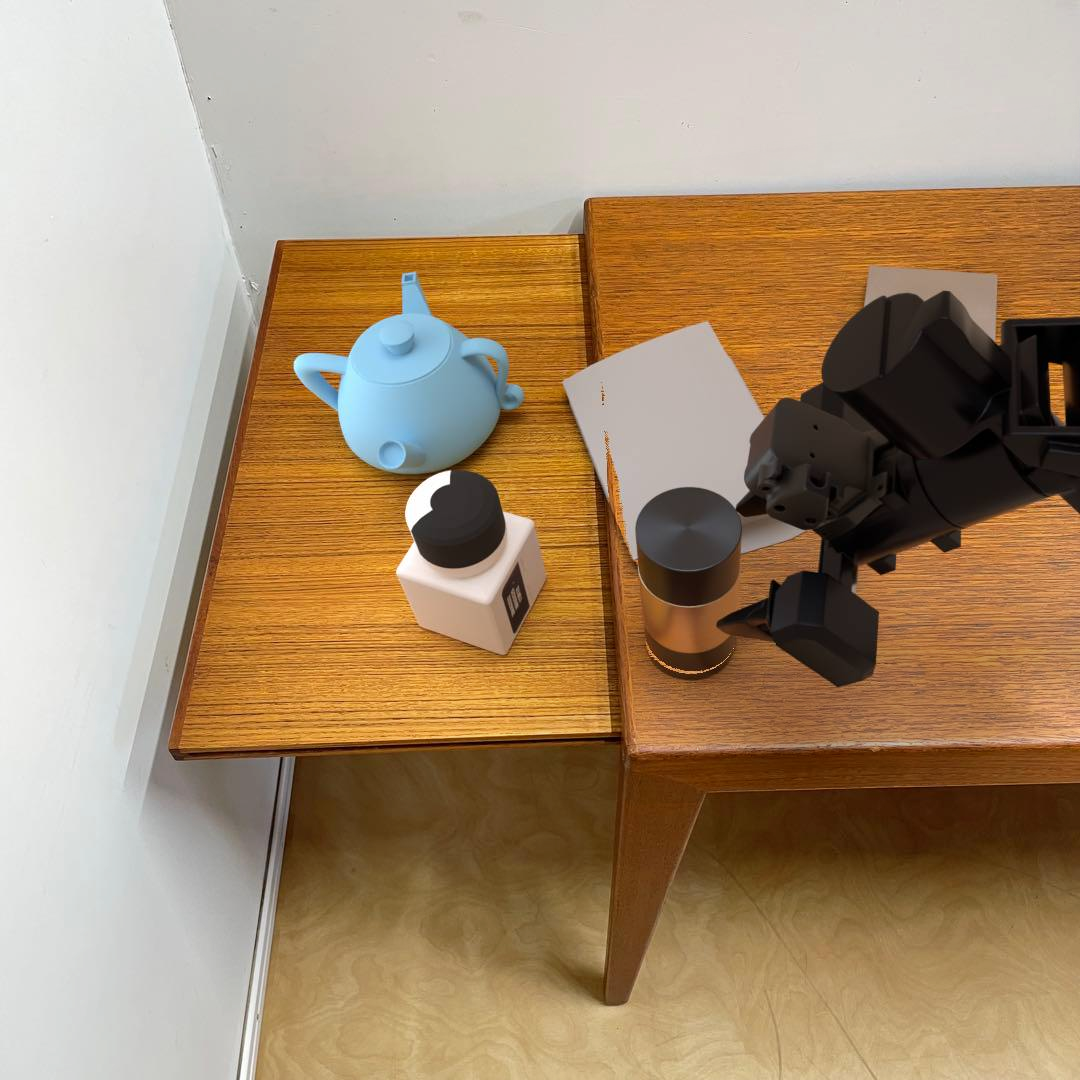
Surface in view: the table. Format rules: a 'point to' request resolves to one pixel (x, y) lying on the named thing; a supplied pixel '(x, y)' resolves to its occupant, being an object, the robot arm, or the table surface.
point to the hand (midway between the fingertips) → (730, 567)
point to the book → (672, 425)
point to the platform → (940, 289)
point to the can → (688, 578)
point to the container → (469, 561)
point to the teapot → (414, 389)
